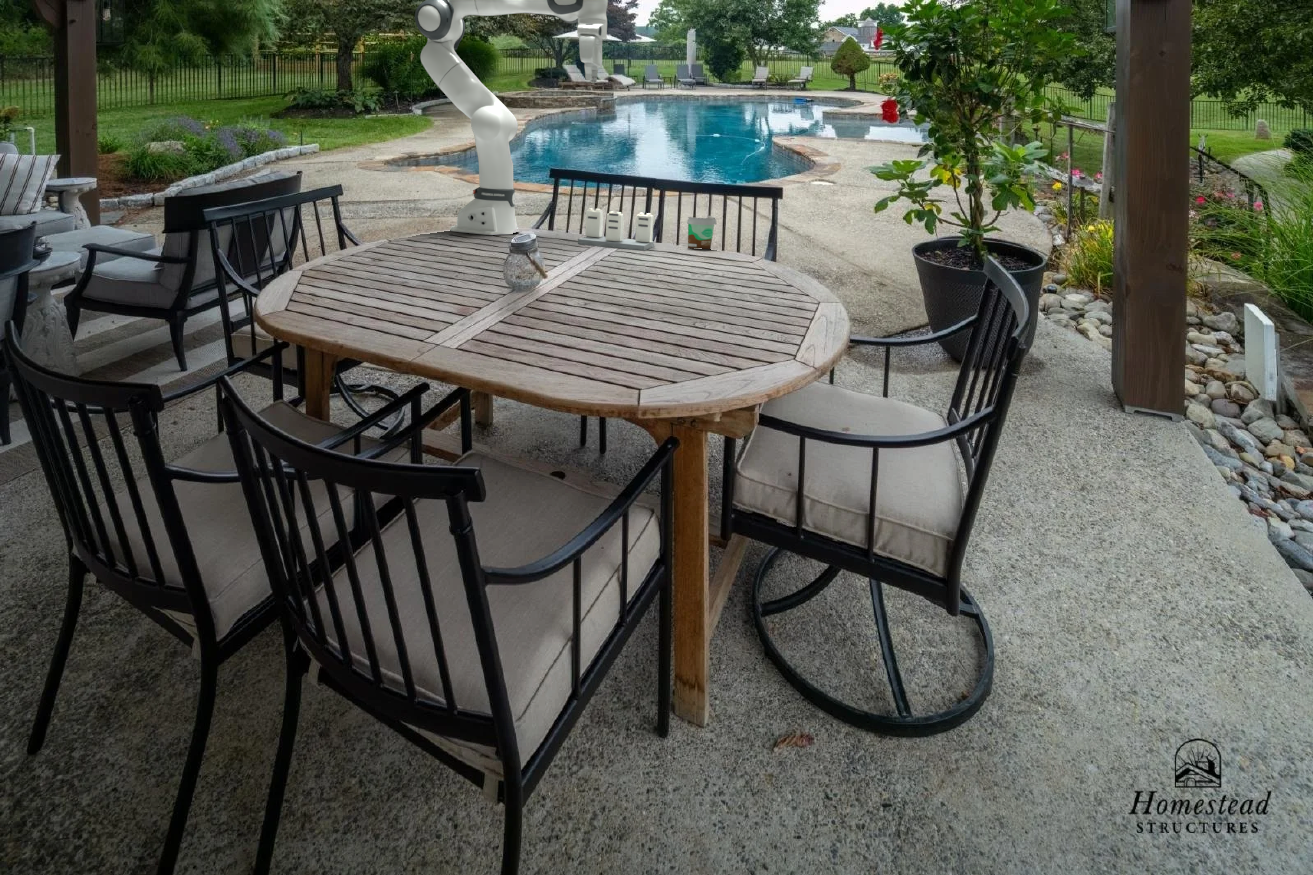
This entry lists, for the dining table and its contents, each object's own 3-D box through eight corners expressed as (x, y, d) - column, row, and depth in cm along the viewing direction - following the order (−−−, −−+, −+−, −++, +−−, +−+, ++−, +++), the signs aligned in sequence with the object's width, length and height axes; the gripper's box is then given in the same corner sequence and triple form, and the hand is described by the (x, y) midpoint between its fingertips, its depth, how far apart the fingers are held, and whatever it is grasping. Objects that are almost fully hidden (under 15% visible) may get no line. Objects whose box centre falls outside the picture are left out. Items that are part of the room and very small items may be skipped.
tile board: (577, 243, 239) (578, 239, 239) (590, 239, 250) (590, 235, 250) (644, 250, 235) (644, 245, 234) (654, 246, 245) (654, 241, 245)
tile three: (605, 240, 238) (606, 211, 235) (608, 238, 241) (609, 210, 238) (619, 241, 237) (620, 213, 234) (623, 240, 240) (624, 212, 237)
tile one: (584, 236, 244) (585, 208, 241) (588, 235, 247) (589, 207, 244) (598, 237, 243) (599, 209, 240) (602, 236, 246) (603, 208, 243)
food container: (700, 251, 241) (703, 219, 237) (685, 248, 244) (687, 216, 241) (721, 248, 250) (724, 217, 246) (706, 246, 254) (708, 215, 250)
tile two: (635, 241, 240) (636, 212, 237) (637, 239, 244) (639, 212, 240) (649, 242, 239) (651, 214, 236) (652, 241, 243) (653, 213, 239)
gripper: (587, 35, 239) (586, 83, 244) (576, 26, 220) (575, 78, 225) (607, 36, 239) (605, 84, 244) (597, 27, 220) (596, 79, 225)
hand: (591, 81), depth 234 cm, fingers open, 8 cm apart
